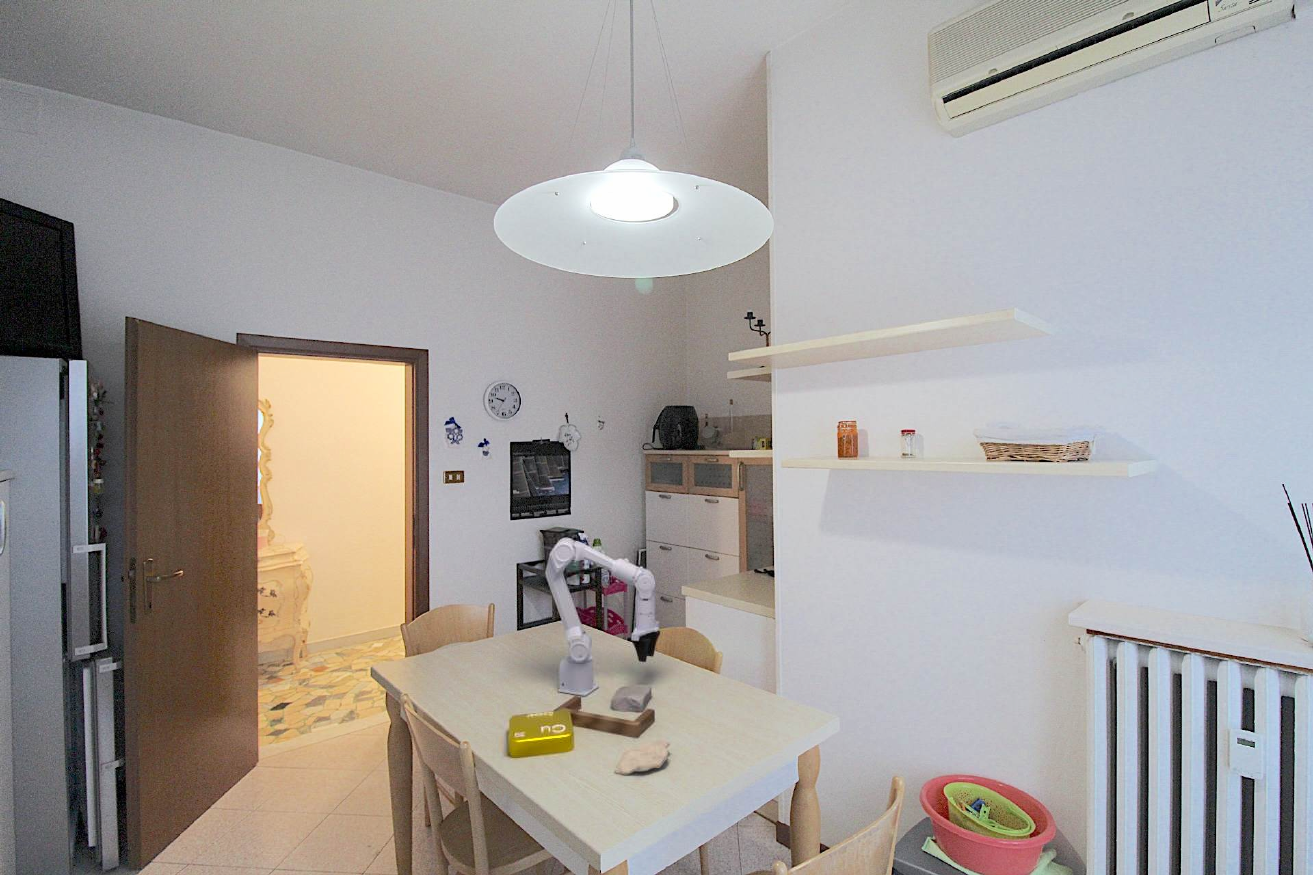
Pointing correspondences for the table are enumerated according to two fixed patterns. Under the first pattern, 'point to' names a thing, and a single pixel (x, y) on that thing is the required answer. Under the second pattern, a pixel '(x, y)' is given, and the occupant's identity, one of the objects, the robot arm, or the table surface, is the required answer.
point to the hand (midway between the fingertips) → (646, 658)
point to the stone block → (631, 698)
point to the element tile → (540, 734)
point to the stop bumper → (607, 720)
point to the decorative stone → (643, 757)
